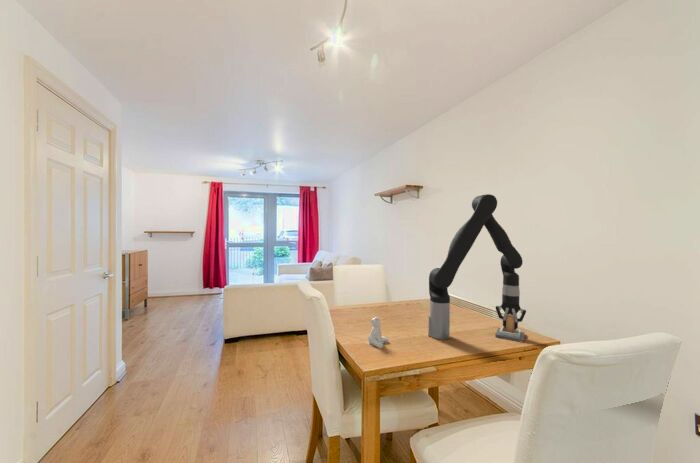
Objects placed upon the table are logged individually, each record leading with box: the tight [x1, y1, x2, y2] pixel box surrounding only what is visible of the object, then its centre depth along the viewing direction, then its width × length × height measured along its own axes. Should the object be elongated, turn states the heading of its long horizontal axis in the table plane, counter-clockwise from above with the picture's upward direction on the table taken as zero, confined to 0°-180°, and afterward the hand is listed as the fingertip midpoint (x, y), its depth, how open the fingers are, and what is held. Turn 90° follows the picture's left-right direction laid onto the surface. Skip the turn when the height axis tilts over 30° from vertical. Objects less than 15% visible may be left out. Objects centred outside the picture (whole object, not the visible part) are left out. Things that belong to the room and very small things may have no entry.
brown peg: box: [506, 314, 515, 333], centre depth 146 cm, size 4×4×8 cm
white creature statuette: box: [367, 316, 389, 349], centre depth 134 cm, size 10×9×12 cm
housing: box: [495, 326, 526, 343], centre depth 146 cm, size 12×12×3 cm
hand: (510, 328), depth 146 cm, fingers closed on brown peg, 3 cm apart
